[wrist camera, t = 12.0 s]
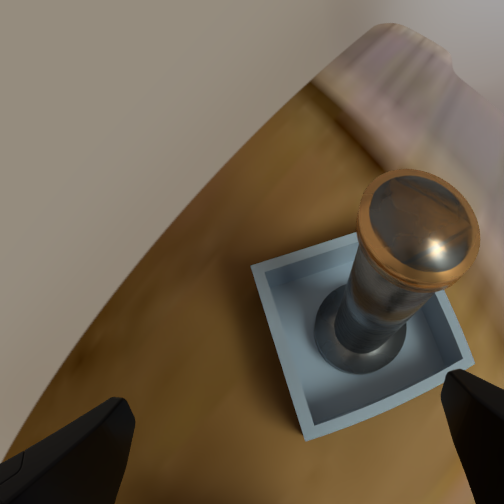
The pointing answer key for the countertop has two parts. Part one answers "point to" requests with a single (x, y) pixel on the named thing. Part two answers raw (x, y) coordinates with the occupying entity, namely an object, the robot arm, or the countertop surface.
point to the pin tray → (320, 371)
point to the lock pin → (395, 267)
